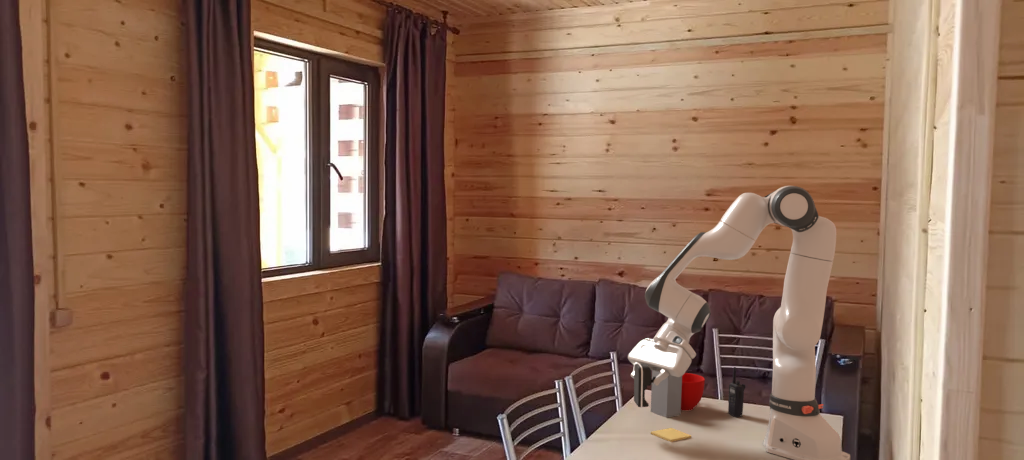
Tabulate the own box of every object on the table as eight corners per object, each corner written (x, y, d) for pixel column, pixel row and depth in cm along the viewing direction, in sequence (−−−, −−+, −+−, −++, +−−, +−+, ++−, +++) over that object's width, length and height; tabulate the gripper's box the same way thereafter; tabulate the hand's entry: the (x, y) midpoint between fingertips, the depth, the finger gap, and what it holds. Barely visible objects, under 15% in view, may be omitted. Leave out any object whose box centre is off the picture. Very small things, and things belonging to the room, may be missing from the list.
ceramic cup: (707, 402, 251) (709, 372, 251) (700, 415, 235) (701, 384, 235) (668, 397, 256) (669, 368, 255) (658, 410, 240) (659, 379, 240)
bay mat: (691, 437, 214) (691, 435, 214) (670, 442, 209) (670, 439, 209) (670, 429, 221) (671, 427, 220) (650, 433, 216) (650, 431, 216)
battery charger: (652, 408, 210) (652, 367, 209) (638, 408, 209) (639, 367, 209) (646, 401, 217) (647, 361, 216) (633, 401, 216) (634, 361, 216)
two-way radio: (725, 413, 239) (727, 366, 239) (738, 412, 241) (740, 365, 240) (735, 418, 234) (737, 370, 233) (748, 417, 235) (750, 369, 235)
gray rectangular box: (680, 414, 236) (682, 366, 235) (666, 417, 233) (668, 368, 232) (663, 408, 242) (665, 361, 241) (649, 411, 239) (651, 363, 238)
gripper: (639, 330, 225) (613, 366, 221) (689, 341, 208) (663, 381, 203) (650, 343, 228) (625, 380, 223) (700, 355, 211) (674, 395, 206)
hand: (643, 380), depth 213 cm, fingers closed on battery charger, 7 cm apart
